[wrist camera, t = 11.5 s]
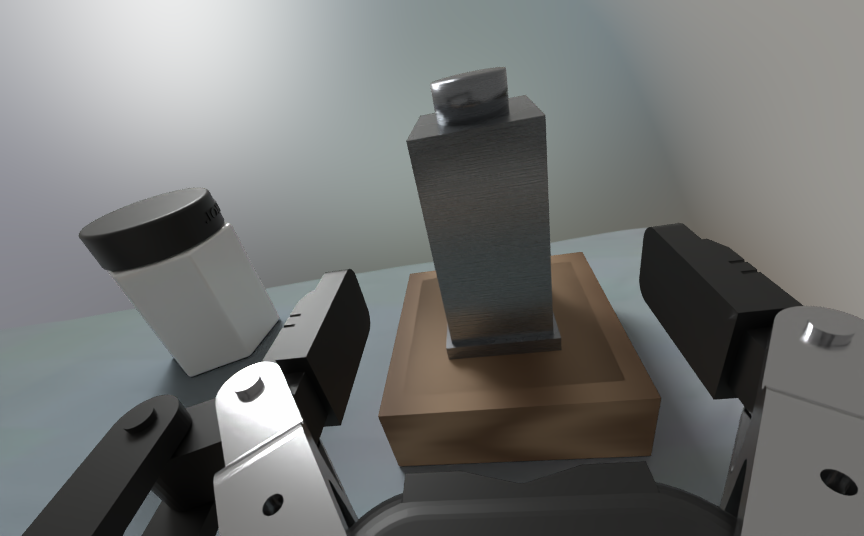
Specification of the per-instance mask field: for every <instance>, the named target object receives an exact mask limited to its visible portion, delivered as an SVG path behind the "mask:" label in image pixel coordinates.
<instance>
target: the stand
mask: <svg viewBox="0 0 864 536" xmlns="http://www.w3.org/2000/svg"><path fill="white" fill-rule="evenodd" d="M551 279H552V306H553V313H554V316H555V320H556V323H557V326H558V329H559V332H560V336H561V347H562V350H558V351H546V352H535V353H523V354H511V355H499V356H488V357H476V358H464V359H453V360H449V359H448V354H447V350H446V342H447V326H448V323H447V319H446V314H445V310H444V305H443V301H442V297H441V292H440V288H439V283H438V279H437V274H436V271H429V272H421V273H414V274H410V277H409V281H408V286H407V290H406V295H405V299H404V303H403V308H402V312H401V317H400V321H399V326H398V330H397V335H396V339H395V344H394V348H393V353H392V357H391V362H390V366H389V370H388V375H387V379H386V384H385V388H384V393H383V397H382V402H381V406H380V411H379V415H378V417H379V420H380V422H381V424H382V427H383V429H384V432H385V434H386V436H387V439H388V441H389V444H390V446H391V448H392V451H393V453H394V455H395V458H396V460H397V463H398V465H399V466H418V465H442V464H466V463H490V462H513V461H537V460H561V459H585V458H609V457H633V456H651V453H652V447H653V441H654V436H655V430H656V425H657V419H658V413H659V408H660V402H661V397H660V395H659V393H658V391H657V389H656V387H655V386H654V384H653V382H652V380H651V378H650V376H649V375H648V373H647V371H646V369H645V367H644V365H643V363H642V362H641V360H640V358H639V356H638V354H637V352H636V351H635V349H634V347H633V345H632V343H631V341H630V339H629V338H628V336H627V334H626V332H625V330H624V328H623V327H622V325H621V323H620V321H619V319H618V317H617V315H616V314H615V312H614V310H613V308H612V306H611V304H610V302H609V301H608V299H607V297H606V295H605V293H604V291H603V290H602V288H601V286H600V284H599V282H598V280H597V278H596V277H595V275H594V273H593V271H592V269H591V267H590V266H589V264H588V262H587V260H586V258H585V256H584V254H583V253H582V252H577V253H570V254H562V255H554V256H551Z"/></svg>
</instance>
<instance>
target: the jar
mask: <svg viewBox="0 0 864 536" xmlns="http://www.w3.org/2000/svg"><path fill="white" fill-rule="evenodd" d="M79 238H80V239H81V240H82V242H83V243H84V244H85V246H86V247H87V248H88V249H89V251H90V252H91V254H92V255H93V256H94V257H95V259H96V260H97V261H98V263H99V264H100V265H101V267H102V268H104V269H105V270H107V272H108V273H109V274H110V276H111V277H112V278H113V280H114V281H115V282H116V283H117V285H118V286H119V287H120V289H121V290H122V291H123V292H124V294H125V295H126V296H127V298H128V299H129V300H130V302H131V303H132V304H133V306H134V307H135V308H136V310H137V311H138V312H139V314H140V315H141V316H142V318H143V319H144V320H145V321H146V323H147V324H148V325H149V327H150V328H151V329H152V331H153V332H154V333H155V335H156V336H157V337H158V338H159V340H160V341H161V342H162V344H163V345H164V346H165V348H166V349H167V350H168V352H169V353H170V354H171V355H172V357H173V358H174V359H175V360H176V362H177V363H178V364H179V365H180V367H181V368H182V369H183V370H184V371H185V373H186V374H187V375H188V376H189V377H193V376H196V375H198V374H201V373H204V372H207V371H209V370H212V369H215V368H218V367H220V366H223V365H226V364H229V363H231V362H234V361H237V360H240V359H242V358H245V357H248V356H250V355H251V354H252V353H253V352H254V350H255V349H256V348H257V346H258V345H259V344H260V343H261V341H262V340H263V339H264V338H265V336H266V335H267V334H268V333H269V331H270V330H271V329H272V328H273V326H274V325H275V324H276V323H277V321H278V320H279V318H280V317H279V315H278V313H277V311H276V309H275V307H274V305H273V303H272V301H271V299H270V297H269V295H268V294H267V292H266V290H265V288H264V286H263V284H262V282H261V280H260V278H259V276H258V274H257V273H256V270H255V269H254V267H253V265H252V263H251V261H250V259H249V257H248V255H247V253H246V251H245V249H244V247H243V246H242V244H241V242H240V240H239V238H238V236H237V234H236V232H235V230H234V228H233V226H232V225H231V224H229V223H226V222H224V218H223V217H222V215H221V213H220V208H219V206H218V205H217V203H216V201H215V200H214V199H213V198H212V196H211V194H210V192H209V191H208V190H207V189H205V188H188V189H182V190H177V191H173V192H169V193H165V194H161V195H158V196H154V197H151V198H148V199H145V200H142V201H139V202H136V203H133V204H131V205H128V206H125V207H123V208H120V209H118V210H116V211H113V212H111V213H109V214H107V215H104V216H102V217H101V218H98V219H97V220H95V221H93V222H91V223H90V224H88V225H87V226H85V227H84V228H83V229H82V230H81V231H80V233H79Z"/></svg>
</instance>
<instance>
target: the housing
mask: <svg viewBox="0 0 864 536" xmlns="http://www.w3.org/2000/svg"><path fill="white" fill-rule="evenodd" d="M430 86H431V92H432V97H433V102H434V108H435V113H432V114H427V115H422V116H420V117H419V119H418V121H417V123H416V124H415V126H414V128H413V130H412V132H411V134H410V135H409V137H408V139H407V141H406V142H407V146H408V150H409V155H410V159H411V164H412V168H413V173H414V177H415V181H416V185H417V190H418V194H419V199H420V204H421V208H422V212H423V217H424V221H425V226H426V230H427V235H428V239H429V243H430V248H431V252H432V257H433V261H434V266H435V270H436V274H437V279H438V283H439V288H440V292H441V297H442V301H443V305H444V310H445V314H446V319H447V323H448V326H447V342H446V350H447V354H448V359H449V360H453V359H464V358H476V357H488V356H499V355H511V354H523V353H535V352H546V351H558V350H562V347H561V336H560V332H559V329H558V326H557V323H556V320H555V316H554V313H553V306H552V279H551V253H550V226H549V200H548V174H547V146H546V121H545V120H546V119H545V114H544V113H543V112H542V111H541V110H540V109H539V108H538V107H537V106H536V105H535V104H534V103H533V102H532V101H531V100H530V99H529V98H528V97H527V96H526V95H523V96H518V97H513V98H508V88H507V76H506V68H505V67H496V68H489V69H482V70H477V71H472V72H467V73H462V74H459V75H454V76H450V77H446V78H443V79H440V80H437V81H434V82H432V83H431V84H430Z"/></svg>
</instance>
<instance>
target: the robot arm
mask: <svg viewBox="0 0 864 536" xmlns="http://www.w3.org/2000/svg"><path fill="white" fill-rule="evenodd" d="M639 283H640V290H641V293H642V296H643V298H644V300H645V302H646V303H647V305H648V306H649V308H650V309H651V311H652V312H653V313H654V315H655V316H656V318H657V319H658V320H659V322H660V323H661V325H662V326H663V328H664V329H665V330H666V332H667V333H668V335H669V336H670V338H671V339H672V340H673V342H674V343H675V345H676V346H677V348H678V349H679V350H680V352H681V353H682V355H683V356H684V358H685V359H686V360H687V362H688V363H689V365H690V366H691V368H692V369H693V370H694V372H695V373H696V375H697V376H698V378H699V379H700V380H701V382H702V383H703V385H704V386H705V388H706V389H707V390H708V392H709V393H710V395H711V396H712V398H713V399H728V398H739V400H740V401H741V402H742V404H743V405H744V408H743V411H742V414H741V417H740V421H739V426H738V430H737V435H736V439H735V444H734V448H733V453H732V457H731V462H730V466H729V471H728V475H727V480H726V484H725V488H724V492H723V496H722V499H721V503H720V506H719V507H718V506H716V505H714V504H712V503H710V502H708V501H706V500H704V499H703V498H701V497H698V496H696V495H693V494H691V493H689V492H686V491H684V490H681V489H678V488H675V487H671V486H668V485H665V484H661V483H656V482H655V481H654V479H653V477H652V475H651V472H650V470H649V468H648V466H647V463H646V461H644V462H625V463H605V464H586V465H580V466H577V467H574V468H570V469H567V470H564V471H561V472H558V473H555V474H552V475H549V476H546V477H543V478H540V479H537V480H534V481H530V482H527V483H514V482H510V481H505V480H500V479H496V478H491V477H486V476H482V475H477V474H472V473H468V472H463V471H448V472H429V473H409V474H405V483H404V491H403V493H402V494H399V495H396V496H394V497H392V498H390V499H388V500H386V501H384V502H382V503H380V504H379V505H377V506H376V507H374V508H372V509H371V510H370V511H368V512H367V513H366V514H365V515H363V516H362V517H361V518H360V519H358V517H357V515H356V513H355V511H354V510H353V508H352V506H351V504H350V501H349V499H348V497H347V495H346V493H345V491H344V488H343V486H342V484H341V482H340V480H339V478H338V475H337V473H336V471H335V469H334V467H333V464H332V462H331V460H330V458H329V456H328V454H327V451H326V449H325V447H324V445H323V443H322V441H321V439H320V436H321V433H322V430H323V427H326V426H340V425H341V423H342V420H343V416H344V413H345V410H346V407H347V403H348V400H349V397H350V393H351V390H352V387H353V384H354V380H355V377H356V374H357V370H358V367H359V364H360V361H361V357H362V354H363V351H364V347H365V344H366V341H367V337H368V334H369V331H370V316H369V311H368V308H367V305H366V303H365V300H364V297H363V294H362V292H361V289H360V286H359V283H358V280H357V278H356V275H355V273H354V272H353V271H352V270H351V269H346V270H339V271H332V272H326V273H325V274H324V275H323V277H322V278H321V280H320V282H319V284H318V285H317V287H316V289H315V291H310V292H309V293H308V294H307V295H306V296H304V297H303V298H302V299H301V300H300V301H299V302H298V303H297V304H296V306H295V308H294V309H293V311H292V313H291V314H290V317H289V318H288V319H287V321H286V322H285V324H284V328H282V329H281V331H280V332H279V334H278V336H277V337H276V339H275V341H274V342H273V344H272V346H271V347H270V349H269V350H268V352H267V354H266V355H265V357H264V359H263V360H262V362H261V363H257V364H254V365H251V366H248V367H246V368H244V369H242V370H241V371H239V372H238V373H236V374H235V375H233V376H232V377H231V378H230V379H229V380H228V381H227V382H226V383H225V384H224V385H223V386H222V387H221V389H220V390H219V392H218V394H217V396H216V398H214V399H211V400H208V401H205V402H202V403H200V404H197V405H194V406H191V407H188V408H185V407H184V406H183V405H182V404H181V402H180V401H179V400H178V399H177V398H176V397H175V396H173V395H161V396H157V397H154V398H151V399H149V400H146V401H144V402H142V403H140V404H139V405H137V406H136V407H134V408H133V409H131V410H130V411H128V412H127V413H126V414H125V415H123V416H122V417H121V418H120V419H119V420H118V421H117V422H116V423H115V424H114V425H113V426H112V428H111V429H110V430H109V431H108V432H107V434H106V435H105V436H104V437H103V438H102V440H101V441H100V442H99V443H98V444H97V446H96V447H95V448H94V449H93V450H92V452H91V453H90V454H89V455H88V456H87V458H86V459H85V460H84V461H83V462H82V464H81V465H80V466H79V467H78V468H77V470H76V471H75V472H74V473H73V474H72V476H71V477H70V478H69V479H68V480H67V482H66V483H65V484H64V485H63V486H62V488H61V489H60V490H59V491H58V492H57V494H56V495H55V496H54V497H53V498H52V500H51V501H50V502H49V503H48V504H47V506H46V507H45V508H44V509H43V510H42V512H41V513H40V514H39V515H38V516H37V518H36V519H35V520H34V521H33V522H32V524H31V525H30V526H29V527H28V528H27V530H26V531H25V532H24V533H23V534H22V536H123V534H124V532H125V530H126V528H127V527H128V525H129V524H130V522H131V520H132V519H133V517H134V516H135V514H136V513H137V511H138V509H139V508H140V506H141V505H142V503H143V501H144V500H145V498H146V497H147V495H148V493H149V492H150V490H152V491H153V492H154V493H155V494H156V495H157V496H158V497H159V498H160V499H161V500H162V502H161V504H160V505H159V507H158V509H157V510H156V512H155V514H154V516H153V517H152V519H151V521H150V522H149V524H148V526H147V527H146V529H145V531H144V533H143V534H142V536H215V535H216V533H217V530H218V528H219V534H220V536H864V320H863V319H861V318H858V317H856V316H854V315H851V314H848V313H845V312H842V311H838V310H834V309H830V308H824V307H815V306H803V305H802V304H801V303H799V302H798V301H797V300H795V299H794V298H793V297H792V296H790V295H789V294H788V293H786V292H785V291H784V290H783V289H781V288H780V287H779V286H778V285H776V284H775V283H774V282H772V281H771V280H770V279H769V278H767V277H766V276H765V275H764V274H762V273H761V272H757V269H756V268H755V267H753V266H752V265H751V264H749V263H748V262H744V259H743V258H742V257H740V256H739V255H738V254H737V253H735V252H734V251H733V250H732V249H730V248H729V247H726V246H724V245H721V244H719V243H717V242H714V241H712V240H709V239H701V238H700V237H698V236H697V235H696V234H694V232H692V231H691V230H690V229H689V228H688V227H686V226H685V225H684V224H682V223H677V224H669V225H662V226H655V227H649V228H647V229H646V231H645V233H644V238H643V248H642V258H641V267H640V277H639Z"/></svg>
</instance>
